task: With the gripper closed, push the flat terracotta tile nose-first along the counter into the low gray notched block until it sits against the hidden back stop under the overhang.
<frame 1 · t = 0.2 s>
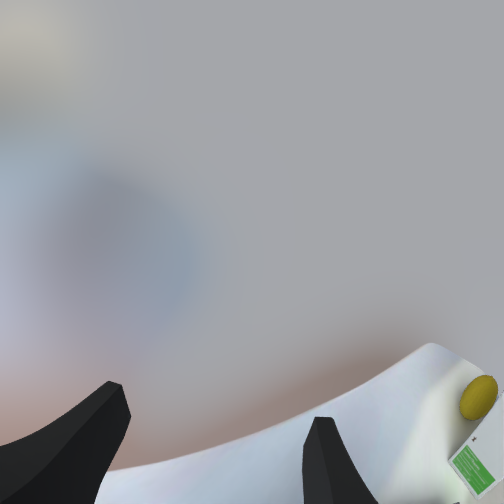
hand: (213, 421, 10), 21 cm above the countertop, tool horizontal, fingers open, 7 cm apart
lemon: (465, 418, 30), on the countertop
skincare box: (476, 471, 20), on the countertop
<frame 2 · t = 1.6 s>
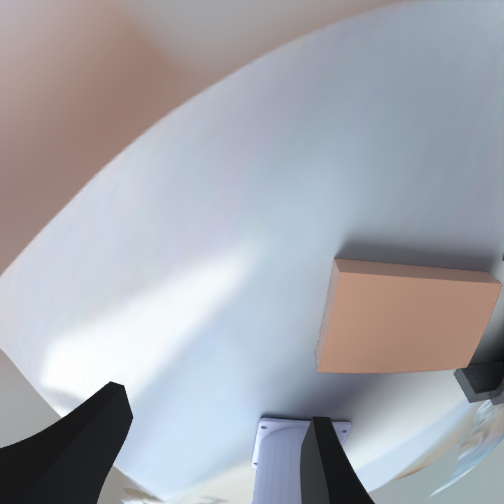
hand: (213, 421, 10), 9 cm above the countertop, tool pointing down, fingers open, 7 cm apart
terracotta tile: (407, 311, 18), on the countertop
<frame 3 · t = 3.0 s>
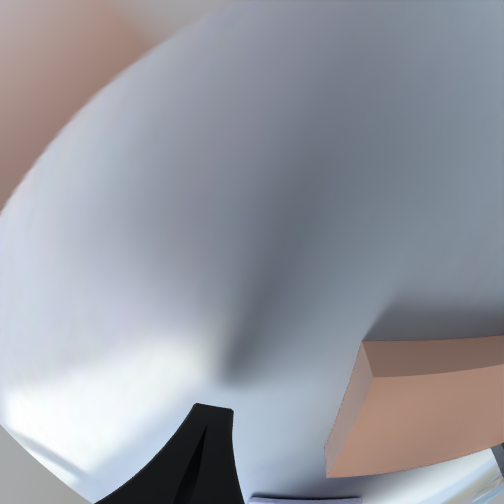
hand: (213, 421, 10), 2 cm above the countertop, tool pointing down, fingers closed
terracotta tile: (451, 389, 11), on the countertop
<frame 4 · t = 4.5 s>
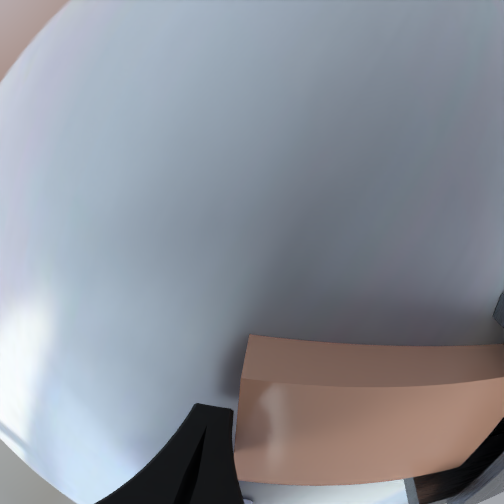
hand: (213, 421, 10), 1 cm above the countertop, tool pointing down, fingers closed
low gray notched block: (500, 392, 10), on the countertop
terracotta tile: (381, 404, 11), on the countertop
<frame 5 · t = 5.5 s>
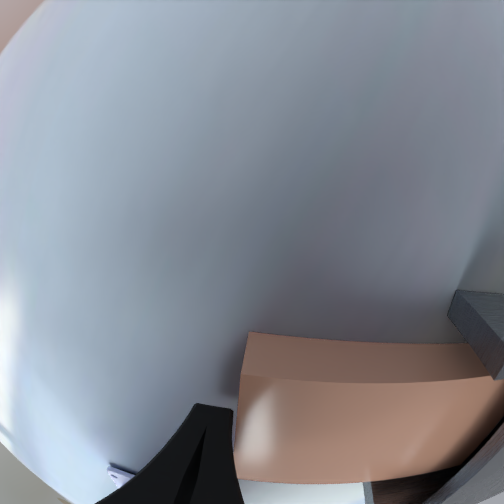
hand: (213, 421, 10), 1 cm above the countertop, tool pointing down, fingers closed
low gray notched block: (468, 398, 10), on the countertop
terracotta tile: (381, 401, 11), on the countertop
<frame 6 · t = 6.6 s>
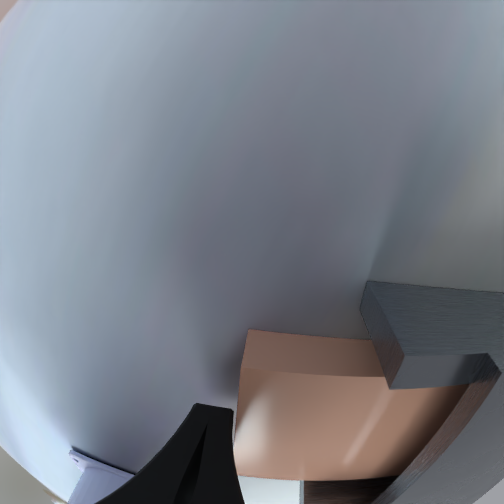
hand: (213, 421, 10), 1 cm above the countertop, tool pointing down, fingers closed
low gray notched block: (412, 404, 10), on the countertop
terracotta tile: (381, 397, 11), on the countertop
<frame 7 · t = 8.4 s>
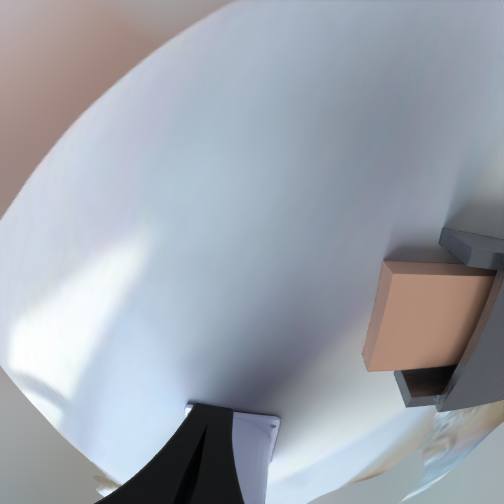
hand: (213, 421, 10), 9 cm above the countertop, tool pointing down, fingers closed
low gray notched block: (462, 311, 17), on the countertop
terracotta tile: (445, 307, 18), on the countertop
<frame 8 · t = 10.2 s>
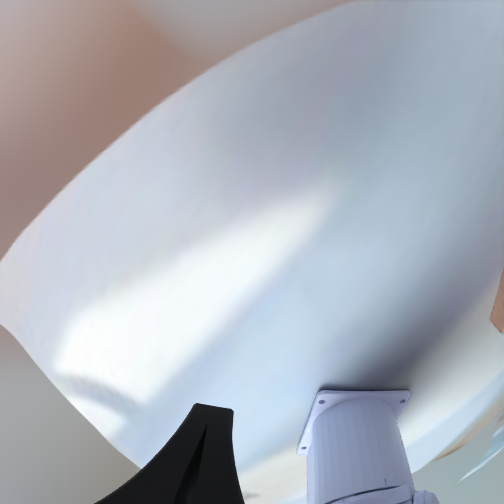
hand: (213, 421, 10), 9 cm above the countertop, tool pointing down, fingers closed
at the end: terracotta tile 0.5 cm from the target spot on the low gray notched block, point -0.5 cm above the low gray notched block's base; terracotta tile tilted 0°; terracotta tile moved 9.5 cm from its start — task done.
